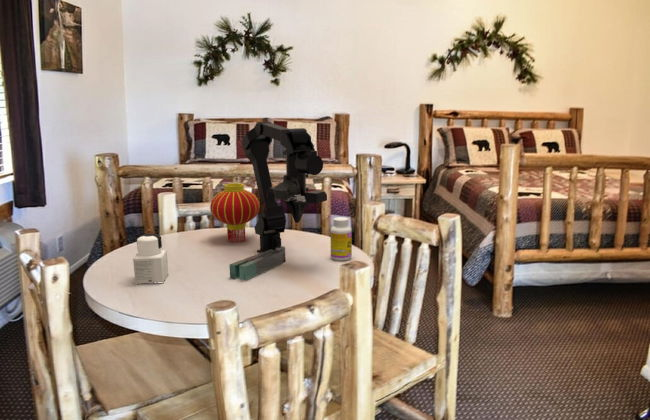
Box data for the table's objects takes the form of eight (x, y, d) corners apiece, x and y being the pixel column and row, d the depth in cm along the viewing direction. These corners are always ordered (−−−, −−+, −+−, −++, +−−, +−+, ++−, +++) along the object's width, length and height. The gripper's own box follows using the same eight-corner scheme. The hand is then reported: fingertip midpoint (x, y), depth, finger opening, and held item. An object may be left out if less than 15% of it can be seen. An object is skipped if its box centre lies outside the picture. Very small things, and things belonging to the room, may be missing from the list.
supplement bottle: (349, 261, 172) (349, 221, 169) (328, 260, 173) (328, 220, 171) (353, 255, 178) (353, 216, 176) (332, 254, 180) (332, 215, 177)
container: (141, 275, 161) (138, 232, 158) (168, 274, 162) (165, 231, 159) (135, 284, 154) (131, 239, 151) (163, 283, 154) (160, 238, 151)
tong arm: (239, 279, 156) (239, 265, 155) (277, 262, 171) (277, 249, 170) (245, 280, 155) (245, 266, 154) (283, 263, 170) (282, 250, 169)
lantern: (201, 242, 196) (196, 157, 190) (236, 232, 210) (232, 152, 203) (237, 249, 186) (233, 160, 180) (270, 238, 200) (268, 155, 194)
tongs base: (230, 277, 158) (229, 262, 157) (277, 259, 176) (277, 245, 175) (239, 280, 156) (239, 265, 155) (287, 261, 173) (287, 247, 173)
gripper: (254, 172, 163) (256, 224, 167) (305, 177, 153) (306, 232, 156) (278, 167, 172) (279, 217, 175) (327, 172, 162) (328, 224, 165)
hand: (297, 222), depth 168 cm, fingers closed
